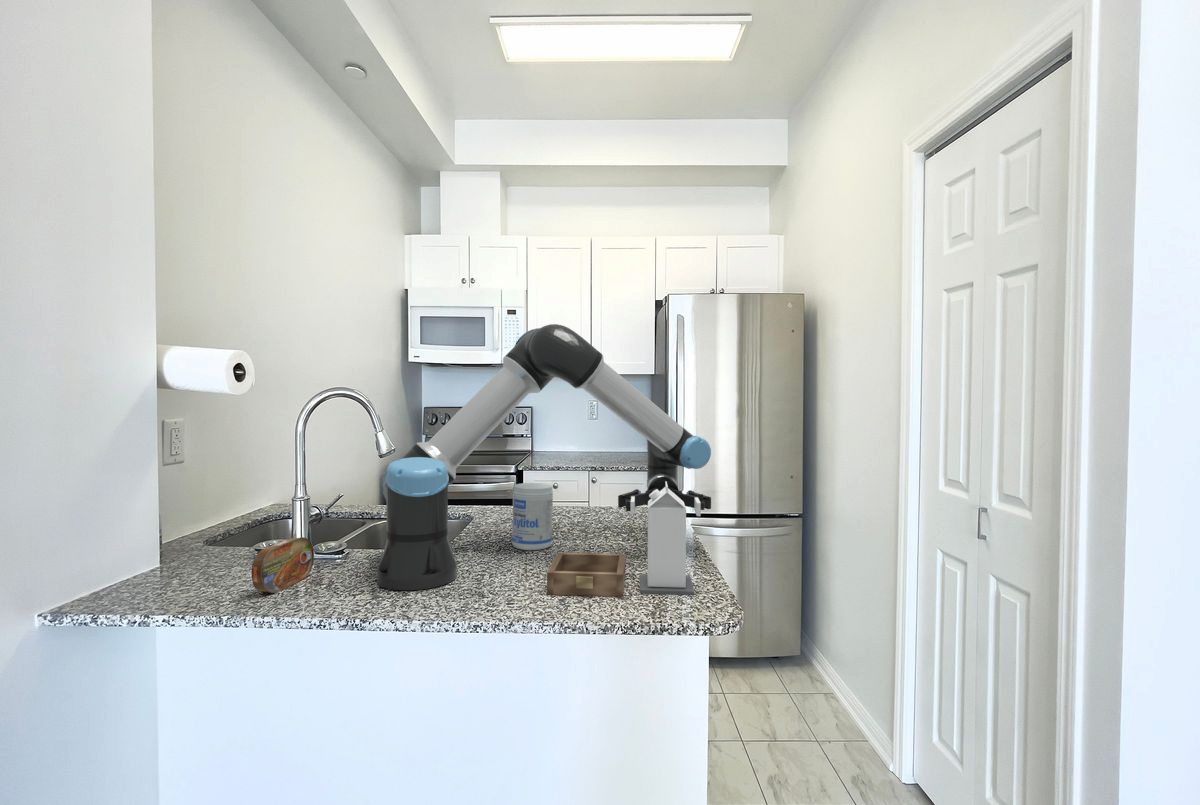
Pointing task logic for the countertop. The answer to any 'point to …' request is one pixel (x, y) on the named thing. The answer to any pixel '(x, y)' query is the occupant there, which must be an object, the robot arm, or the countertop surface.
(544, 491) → the supplement tub
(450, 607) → the countertop surface
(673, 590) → the rubber mat
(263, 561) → the tin
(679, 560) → the milk carton
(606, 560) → the wooden square frame
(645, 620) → the countertop surface
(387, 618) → the countertop surface
